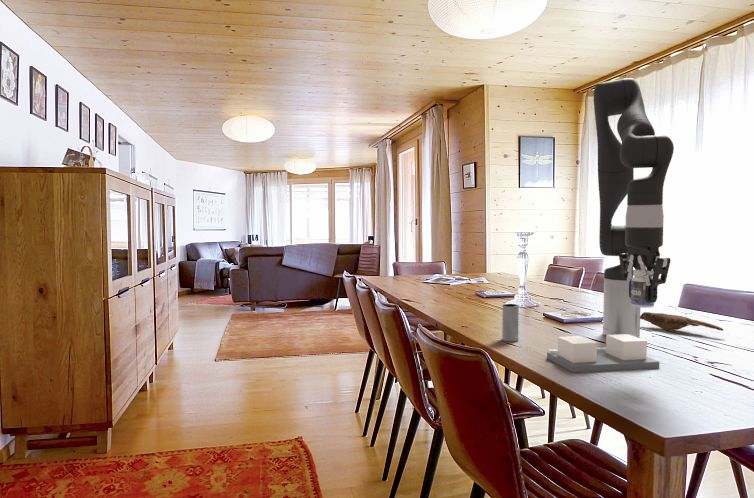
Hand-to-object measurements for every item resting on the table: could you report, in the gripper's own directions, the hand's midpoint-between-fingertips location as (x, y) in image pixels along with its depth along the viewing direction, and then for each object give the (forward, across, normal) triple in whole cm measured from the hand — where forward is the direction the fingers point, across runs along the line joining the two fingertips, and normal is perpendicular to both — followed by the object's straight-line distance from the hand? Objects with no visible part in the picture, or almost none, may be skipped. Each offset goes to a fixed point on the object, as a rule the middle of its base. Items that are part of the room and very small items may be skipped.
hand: (642, 299), depth 112 cm
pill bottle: (+2, 0, 0) cm, 2 cm away
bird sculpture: (+18, +35, -40) cm, 56 cm away
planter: (+17, +34, +16) cm, 41 cm away
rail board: (+17, +8, +5) cm, 19 cm away
